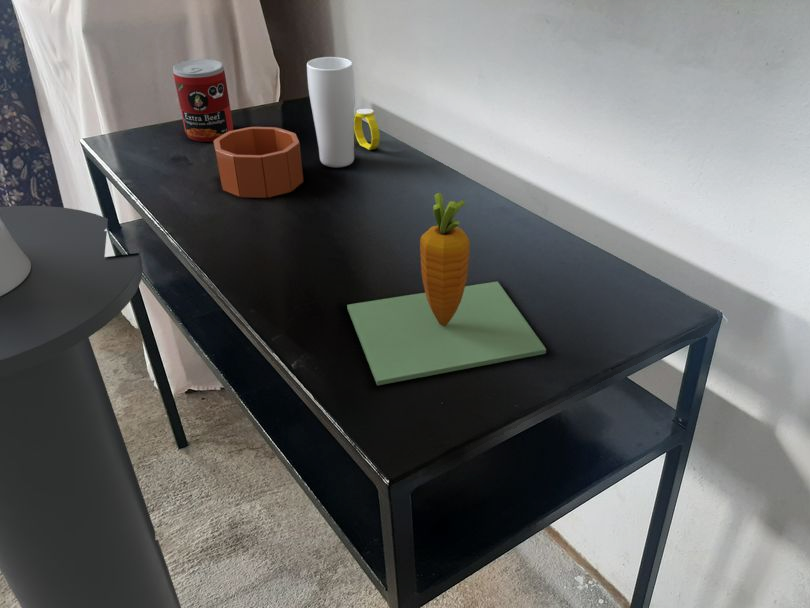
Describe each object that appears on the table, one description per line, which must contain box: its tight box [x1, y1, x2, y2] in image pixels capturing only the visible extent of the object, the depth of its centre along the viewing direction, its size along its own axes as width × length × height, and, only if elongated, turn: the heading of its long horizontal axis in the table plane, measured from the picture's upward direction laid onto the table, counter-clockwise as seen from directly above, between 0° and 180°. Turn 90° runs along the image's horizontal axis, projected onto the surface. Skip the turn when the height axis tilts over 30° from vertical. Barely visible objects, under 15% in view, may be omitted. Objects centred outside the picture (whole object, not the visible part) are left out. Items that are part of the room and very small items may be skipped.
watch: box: [354, 108, 381, 151], centre depth 117 cm, size 6×3×6 cm, turn 37°
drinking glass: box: [306, 56, 356, 169], centre depth 109 cm, size 7×7×15 cm
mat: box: [346, 281, 547, 386], centre depth 78 cm, size 18×14×1 cm
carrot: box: [419, 192, 471, 326], centre depth 74 cm, size 5×5×15 cm
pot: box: [213, 126, 304, 199], centre depth 106 cm, size 12×12×6 cm
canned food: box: [172, 58, 234, 143], centre depth 118 cm, size 8×8×11 cm
